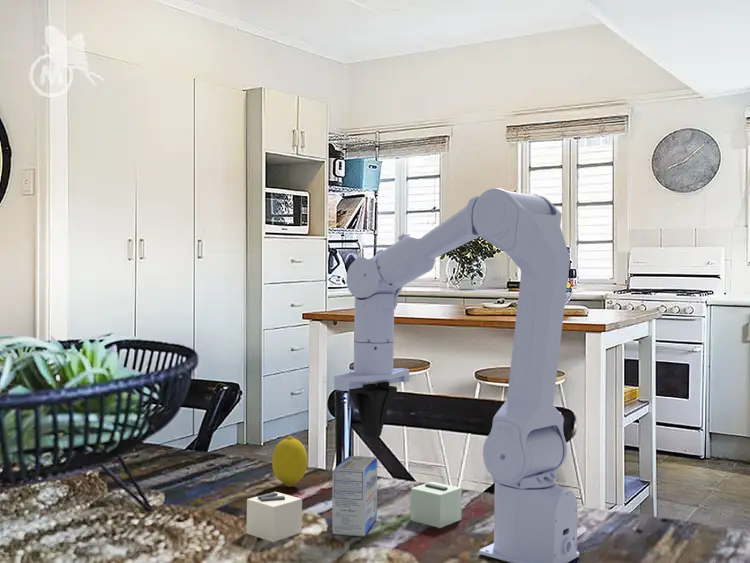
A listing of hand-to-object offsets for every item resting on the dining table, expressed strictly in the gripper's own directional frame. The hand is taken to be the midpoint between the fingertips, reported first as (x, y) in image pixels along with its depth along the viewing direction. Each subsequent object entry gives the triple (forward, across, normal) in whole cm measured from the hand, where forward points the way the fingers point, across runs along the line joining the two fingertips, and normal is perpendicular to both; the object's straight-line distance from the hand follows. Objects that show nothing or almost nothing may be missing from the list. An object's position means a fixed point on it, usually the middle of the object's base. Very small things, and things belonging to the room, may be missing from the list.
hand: (372, 436), depth 114 cm
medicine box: (+11, +8, +4) cm, 14 cm away
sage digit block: (+11, -2, +10) cm, 15 cm away
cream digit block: (+11, +17, -2) cm, 20 cm away
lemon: (+11, 0, -17) cm, 20 cm away
